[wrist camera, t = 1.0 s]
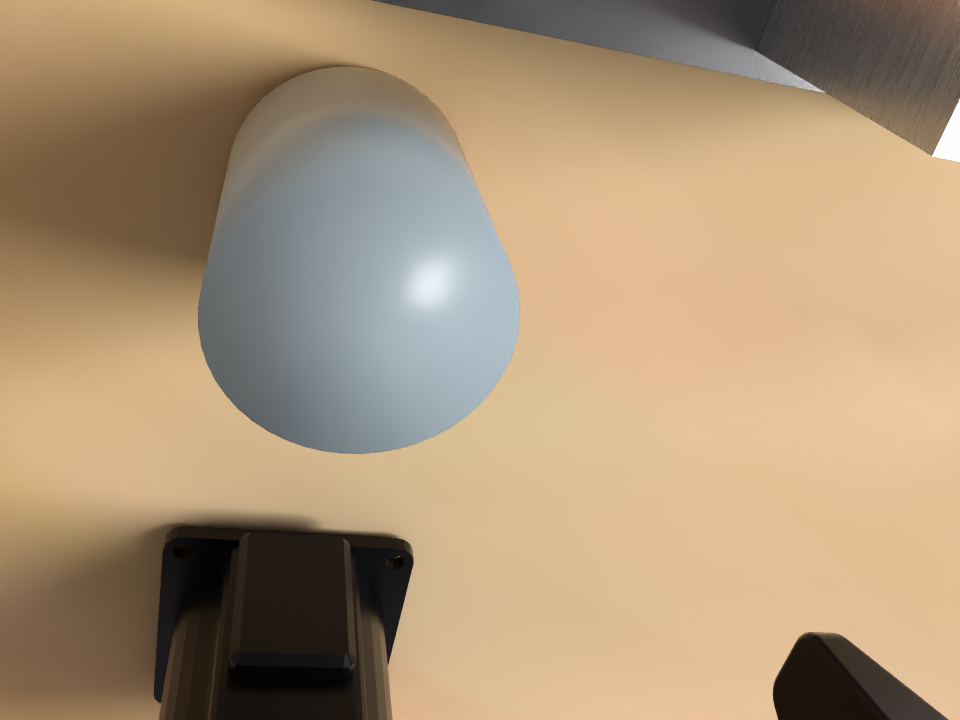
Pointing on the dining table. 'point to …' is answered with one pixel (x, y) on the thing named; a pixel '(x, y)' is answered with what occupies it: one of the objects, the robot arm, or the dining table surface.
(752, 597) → the dining table surface
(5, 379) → the dining table surface
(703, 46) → the motor mount
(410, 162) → the grey round-ended capsule
